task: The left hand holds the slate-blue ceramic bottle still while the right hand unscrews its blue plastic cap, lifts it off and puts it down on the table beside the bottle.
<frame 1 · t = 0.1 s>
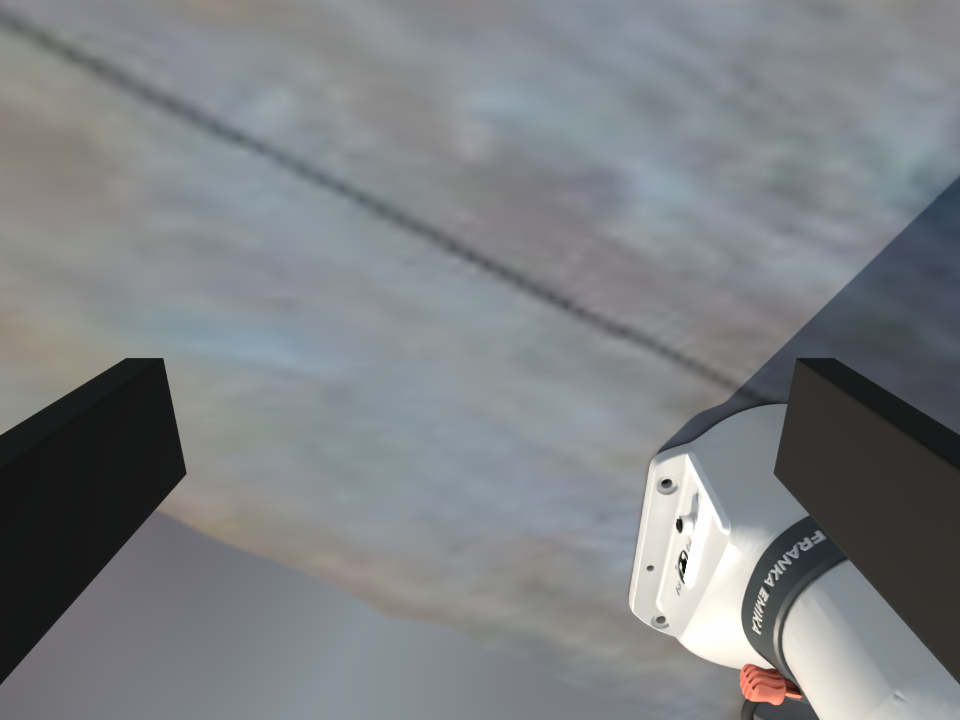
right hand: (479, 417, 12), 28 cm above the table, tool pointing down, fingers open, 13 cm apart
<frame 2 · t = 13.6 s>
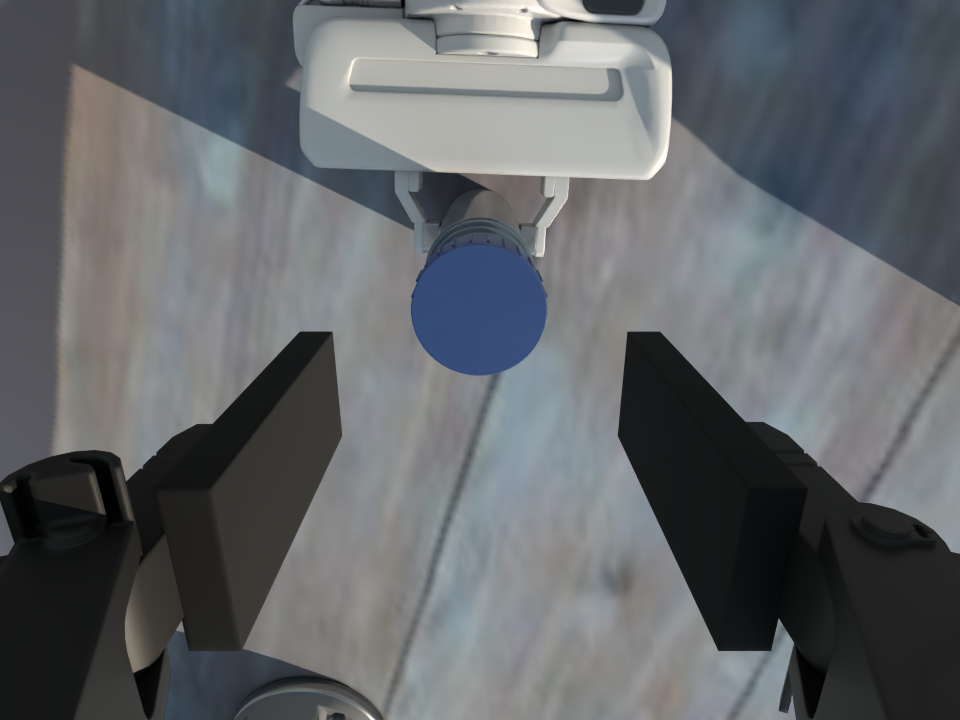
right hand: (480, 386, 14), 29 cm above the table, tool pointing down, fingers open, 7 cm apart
left hand: (479, 253, 35), fingers closed on bottle, 5 cm apart
cap: (479, 310, 20), point 22 cm above the table, screwed on, not yet turned
bottle: (479, 224, 41), on the table, touching left hand
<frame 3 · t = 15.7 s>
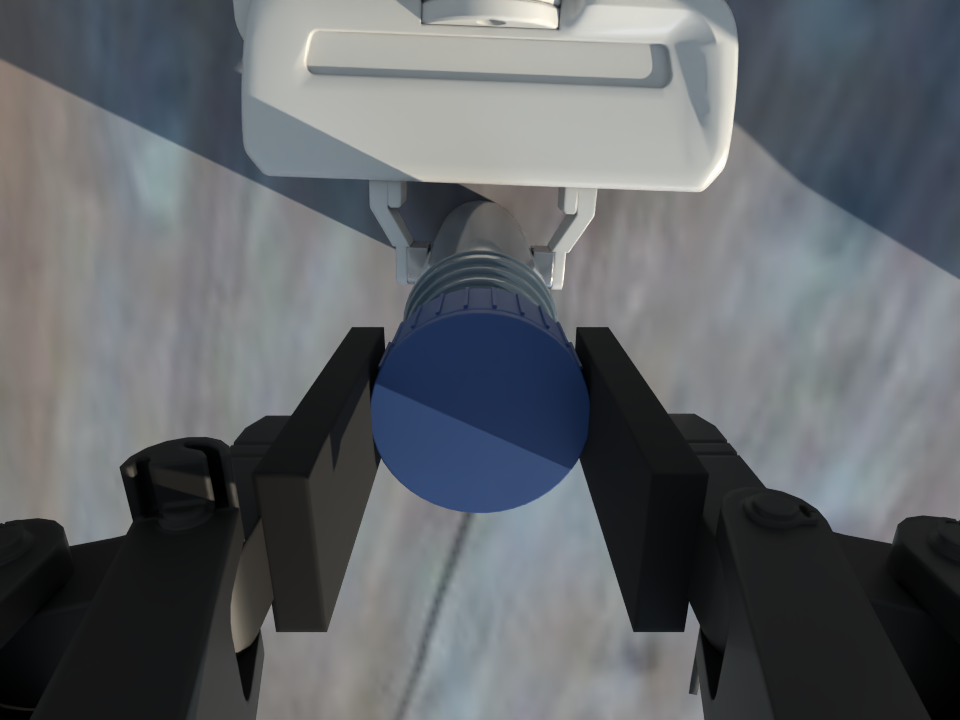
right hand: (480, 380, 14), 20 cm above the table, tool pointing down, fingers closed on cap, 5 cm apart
left hand: (480, 284, 28), fingers closed on bottle, 5 cm apart
cap: (480, 413, 13), point 22 cm above the table, screwed on, not yet turned, touching right hand
bottle: (480, 244, 33), on the table, touching left hand
when the right hand's fingers open (1 cm above the table, at t = 35.0 s): cap drops 1 cm, point 2 cm above the table.
when the left hand's fingers open (6 cm above the table, at t = 36.3 s): bottle stays where it is, on the table.
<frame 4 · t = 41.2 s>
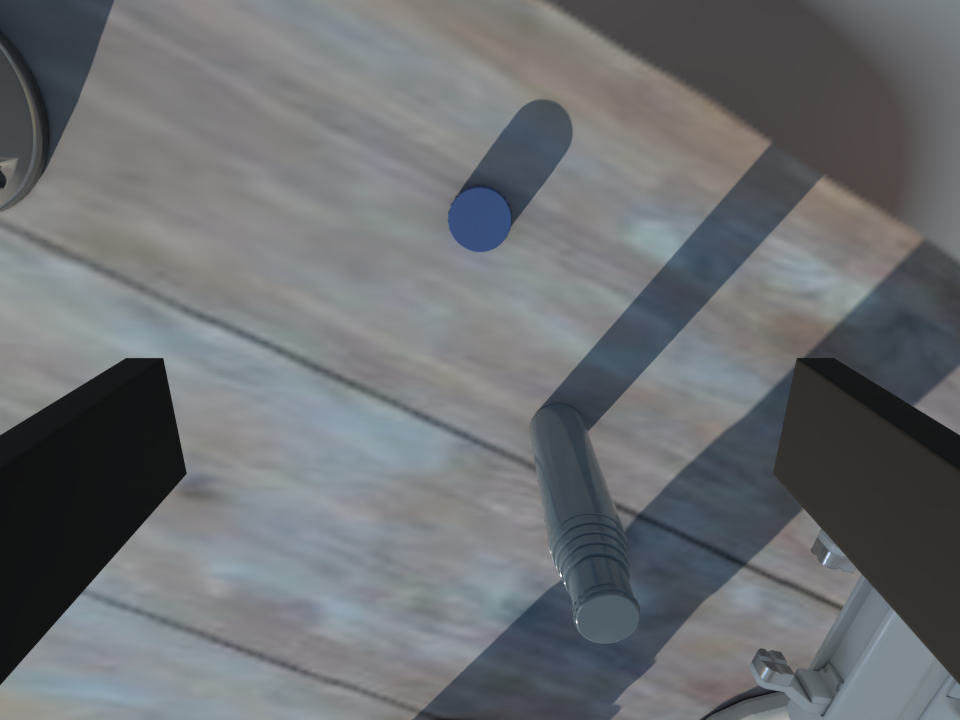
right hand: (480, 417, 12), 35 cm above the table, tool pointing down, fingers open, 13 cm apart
cap: (479, 219, 43), point 2 cm above the table, off its thread
bottle: (556, 428, 51), on the table
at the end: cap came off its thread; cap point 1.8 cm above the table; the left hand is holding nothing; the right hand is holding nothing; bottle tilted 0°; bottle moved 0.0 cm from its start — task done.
